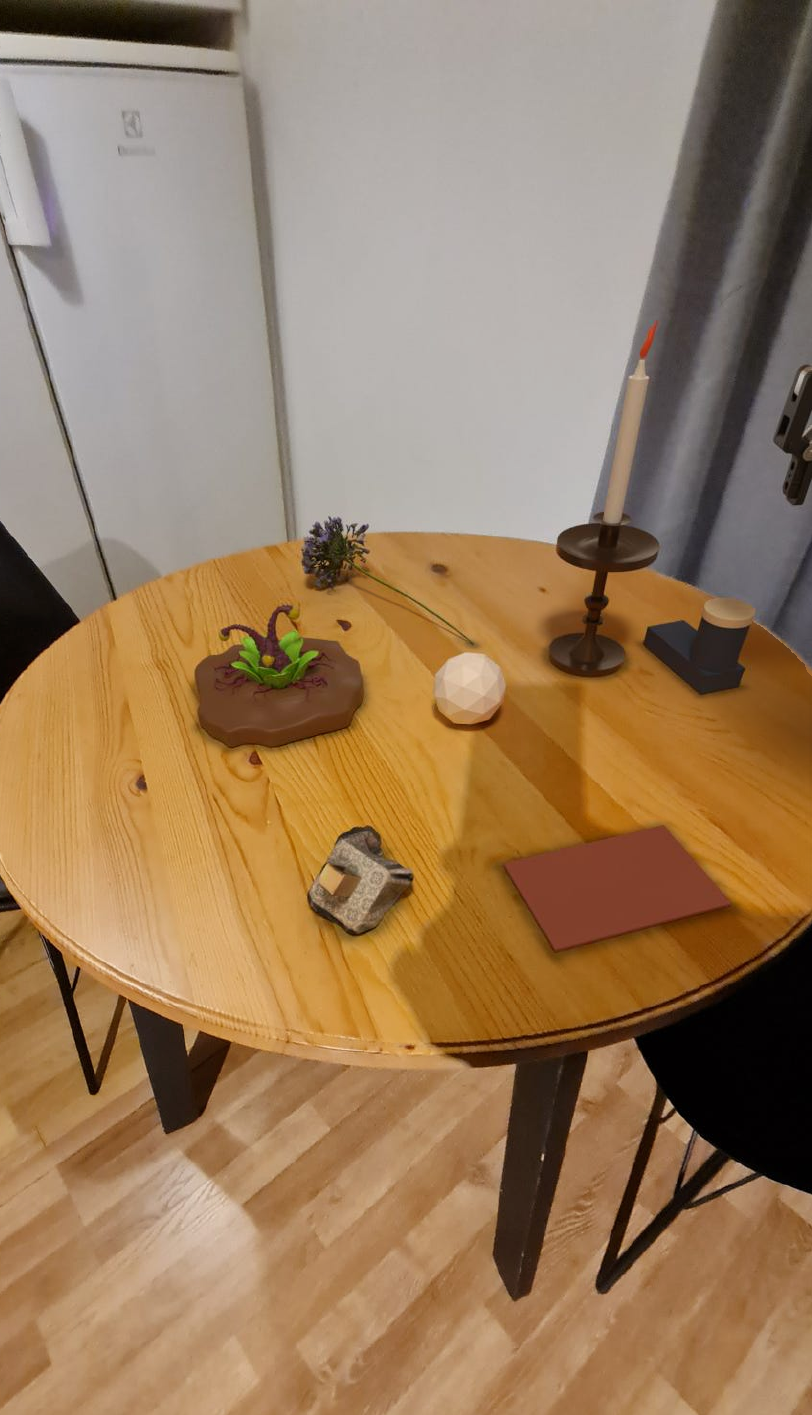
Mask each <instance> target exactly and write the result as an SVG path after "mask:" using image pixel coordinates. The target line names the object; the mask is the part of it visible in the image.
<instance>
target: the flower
mask: <svg viewBox="0 0 812 1415" xmlns="http://www.w3.org/2000/svg"><path fill="white" fill-rule="evenodd" d="M327 516H328V520H327V519H325V520H324V521H323V525H324V528H323V527H322V525H321V523H320V522H319V521H316V522H315V523H314V524H312V525H311V526H312V528H310V529H309V530H308V533H309V535H311V536H308V535H307V536H303V543H304V546H301V547H300V550H301V554H302V558H301V559H300V561H301V566H302V567H303V568H302V570H303V572H304V575H312V576H313V575H314V577H315V578H317V579H316V581H315V582H314V583H313V584H314V586H318V587H319V588H320V589H321V588H322V583H323V582H324V581H325V582H326V587H330V586H331V587H333V588H334V589H335V588H336V586H334V584H333V582H335V580H337V581H338V582H341V579H342V577H341V573H342V569H343V570H345V569H347V568H348V569H347V570H346V576H345V577H344V581H346V582H348V581H349V579H350V576H349V571H351V570H353V568H354V569H356V570H358V571H360V572H361V573H363V574H364V575H365V576H367V577H369V578H371V579H372V580H374V581H376V582H378V583H380V584H382V585H383V586H386V587H387V588H388V589H391V590H392V591H395V592H396V593H399V594H401V595H402V596H404V597H406V598H408V599H410V600H411V601H412V602H414V603H415V604H418V605H419V606H421V607H422V608H423V609H425V610H426V611H428V612H429V613H430V614H431V615H433V616H435V617H436V618H438V619H439V620H440V621H442V622H443V623H444V624H446V625H447V626H449V627H450V628H452V630H454V631H455V632H457V633H458V634H459V635H460V636H462V637H463V638H464V639H466V640H467V641H468V642H469V643H470V644H472V645H473V646H474V645H475V643H474V642H473V641H472V640H471V639H470V638H468V636H466V635H465V634H463V633H462V632H461V631H460V630H458V629H457V628H456V627H455V626H454V625H452V624H451V623H450V622H448V621H447V620H445V619H444V618H443V617H442V616H440V615H439V614H438V613H436V612H434V611H433V610H432V609H430V608H428V606H426V605H424V603H421V602H419V601H418V600H417V599H415V598H413V597H411V596H410V595H408V594H407V593H404V592H403V591H402V590H400V589H397V588H395V587H394V586H392V585H390V584H389V583H386V582H385V581H383V580H381V579H379V578H377V577H374V576H373V574H370V573H368V572H367V571H365V570H364V569H362V568H361V567H360V566H358V565H356V564H355V561H354V560H355V559H356V557H357V556H358V557H360V558H361V559H359V561H360V562H362V564H366V562H367V559H366V557H364V556H363V554H366V555H369V554H370V553H371V550H370V549H367V548H364V547H365V544H364V543H368V540H365V537H366V535H367V534H366V533H365V532H367V530H368V529H369V527H370V525H369V523H366V524H362V525H361V526H360V527H359V529H358V530H356V527H357V526H358V525H359V524H358V523H357V522H355V523H351V524H350V525H348V524H346V525H345V527H346V530H347V531H346V535H345V537H344V535H343V532H345V530H344V524H343V523H342V522H343V520H342V518H341V517H340V516H337V517H335V516H334V517H331V516H330V515H327ZM351 529H352V532H351ZM350 532H351V533H352V535H351V538H352V539H349V536H348V535H349V534H350ZM354 536H356V538H354ZM359 536H361V537H360V538H359ZM358 544H359V545H361V546H362V547H361V546H359V545H358ZM356 555H357V556H356ZM344 562H345V564H344ZM327 563H328V564H327ZM326 564H327V565H326Z"/></svg>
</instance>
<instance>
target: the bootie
mask: <svg viewBox="0 0 812 1415" xmlns="http://www.w3.org/2000/svg"><path fill="white" fill-rule="evenodd" d="M755 616H756V609H755V607H754V606H753V605H751V604H750V603H748V602H746V601H743V600H741V599H737V598H732V597H715V598H710V599H709V600H706V601H705V603H704V604H703V606H702V611H701V618H700V621H699V624H698V628H697V629H696V628H694V626H692V625H691V624H690V623H688V622H687V621H686V620H684V619H681V620H675V621H670V622H666V623H665V622H664V623H660V624H655V625H650V626H649V625H648V626H647V627H646V632H645V635H644V638H643V639H644V640H643V646H644V647H645V648H647V649H648V650H649V651H650V652H651V653H652V654H654V656H656V657H657V658H658V659H659V660H660V661H661V662H662V663H663V664H665V665H666V666H667V667H668V668H669V669H670V670H672V671H673V672H674V673H675V674H676V675H677V676H678V677H679V678H681V679H682V680H683V681H684V682H685V683H687V684H688V685H689V686H690V687H691V688H693V690H695V691H696V692H697V693H698V694H699V695H700V696H702V695H706V694H711V693H716V692H720V691H721V692H722V691H726V690H731V689H734V688H739V687H740V685H741V682H742V679H743V676H744V674H745V672H746V667H745V666H744V665H742V664H741V663H740V662H739V658H740V656H741V654H742V650H743V647H744V644H745V641H746V638H747V636H748V632H749V630H750V627H751V625H752V623H753V622H754V618H755Z"/></svg>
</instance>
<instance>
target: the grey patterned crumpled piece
mask: <svg viewBox="0 0 812 1415" xmlns="http://www.w3.org/2000/svg"><path fill="white" fill-rule="evenodd" d="M381 843H382V836H381V834H380V833H379V832H378V831H377V830H376V829H375V828H374V827H373V826H372V825H368V824H367V825H365V826H354V827H352V828H351V829H349V830H347V831H344V832H342V833H340V834H339V835H338V836H337V839H336V840H335V843H334V845H333V849H332V851H331V852H330V854H329V856H328V857H327V859H326V861H325V862H324V864H323V865H322V867H321V869H320V871H319V872H318V874H317V875H316V877H315V879H314V881H313V882H312V884H311V886H310V887H309V890H308V892H307V894H306V899H307V903H308V905H309V906H310V907H312V909H313V910H314V911H315V912H316V913H318V914H319V915H321V916H322V917H326V918H327V919H328V920H329V921H331V922H332V923H334V924H335V925H337V926H340V927H341V929H342V930H343V931H345V932H346V933H348V934H349V935H358V934H361V933H362V932H365V931H368V930H372V929H374V928H376V927H378V926H379V925H380V923H381V921H382V920H383V918H384V916H385V914H386V913H387V912H388V911H389V910H390V909H391V908H392V906H394V905H395V903H396V902H397V901H398V899H399V898H400V896H401V894H403V893H404V892H405V891H407V890H408V889H409V887H410V886H411V885H412V883H413V882H414V877H415V876H414V872H413V870H412V869H410V868H408V867H405V866H403V865H402V864H401V863H400V862H398V861H396V860H395V859H390V858H387V857H384V856H382V855H384V851H383V849H382V847H381Z"/></svg>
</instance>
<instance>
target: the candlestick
mask: <svg viewBox="0 0 812 1415" xmlns="http://www.w3.org/2000/svg"><path fill="white" fill-rule="evenodd" d="M654 322H655V323H654V325H653V326H652V327H651V328H650V329H649V330H648V331H647V336H646V339H645V341H644V342H643V344H642V346H641V348H640V350H639V358H641V359H639V360H638V363H637V366H636V368H635V370H634V373H633V374H632V375H629V376H628V380H627V385H626V390H625V396H624V402H623V405H622V412H621V417H620V423H619V429H618V434H617V440H616V446H615V451H614V455H613V461H612V467H611V472H610V478H609V483H608V484H609V485H608V489H607V495H606V500H605V504H604V505H605V506H604V511H600V512H597V513H595V514H594V515H593V516H592V519H593V521H595V523H594V522H592V523H591V522H590V523H583V524H579V525H574V526H571V527H568V528H566V529H564V530H563V531H561V533H559V534H558V536H557V538H556V539H557V540H556V544H555V553H556V555H557V556H558V557H559V558H560V559H561V560H562V561H564V562H565V563H567V564H569V565H572V566H573V567H577V568H579V569H583V570H587V571H592V572H595V573H594V579H593V585H592V590H591V593H588V594H586V595H585V596H584V598H583V603H584V606H585V608H586V609H587V612H586V614H584V615H583V616H582V619H581V622H582V623H583V624H584V625H585V627H584V632H572V633H566V634H563V635H560V636H557V637H556V638H554V640H552V641H551V643H550V644H549V646H548V652H547V653H548V654H547V656H548V660H549V661H550V662H549V663H551V665H553V666H554V667H555V668H556V669H558V670H559V671H562V672H564V673H566V674H570V675H572V676H577V677H582V678H583V677H584V678H599V677H605V676H609V675H613V674H614V673H617V672H618V671H619V670H621V668H622V667H623V666H624V663H625V660H626V650H625V648H624V647H623V646H622V645H621V643H619V642H618V641H617V640H615V639H613V638H611V637H608V636H605V635H602V634H598V633H597V631H598V626H601V625H603V623H604V620H605V619H604V617H603V616H602V611H604V610H605V609H606V608H607V607H608V605H609V603H610V598H609V596H607V595H606V594H605V590H606V586H607V580H608V575H609V573H628V572H633V571H638V570H642V569H644V568H648V567H649V566H651V565H653V563H655V562H656V560H657V558H658V556H659V551H660V550H659V549H660V542H659V540H658V538H656V537H655V536H654V535H653V534H652V533H649V532H647V531H646V530H644V529H641V528H638V527H634V526H631V525H627V524H629V523H631V522H632V517H631V516H630V515H628V514H627V513H623V512H624V506H625V501H626V496H627V491H628V485H629V482H630V477H631V472H632V466H633V461H634V457H635V451H636V446H637V441H638V435H639V431H640V427H641V421H642V418H643V417H642V416H643V412H644V411H643V410H644V407H645V400H646V396H647V390H648V385H649V381H650V376H648V375H646V360H645V358H646V357H647V356H648V353H649V352H650V349H651V347H652V344H653V342H654V338H655V333H656V330H657V326H658V320H655V321H654Z"/></svg>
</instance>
